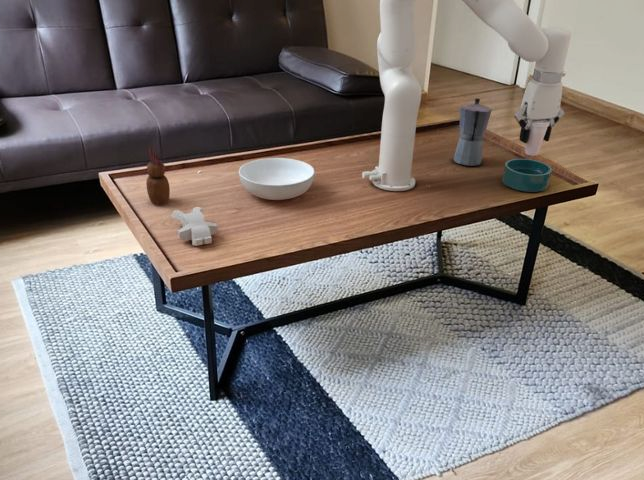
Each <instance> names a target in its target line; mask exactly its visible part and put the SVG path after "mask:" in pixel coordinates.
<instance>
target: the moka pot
mask: <svg viewBox="0 0 644 480" xmlns="http://www.w3.org/2000/svg"><path fill="white" fill-rule="evenodd" d="M480 102H481V99H480V98H474V102H473V103H464V104H462V105H460V106H459V138H458V142H457V146H456V148H455V152H454V155H453V162H454V163H456V164H458V165H462V166H467V167H474V166H479V165H481V164H482V161H483V139H484V134H485V133H486V131H487V128H488V125H489V121H490V117H491V114H492V111H493V110H492V108H491V107H489V106H487V105H485V104H481V103H480Z"/></svg>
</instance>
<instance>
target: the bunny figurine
mask: <svg viewBox="0 0 644 480" xmlns="http://www.w3.org/2000/svg"><path fill="white" fill-rule="evenodd" d="M171 217H172V219H176V220H178V221H180V222H181V226H182V227H181V228H179V229H177V236H178V239H179V240H187V241H188V240H190V241H191V244H192V246H196V247H197V246H203V245H208V244H212V243H213V239H212V236H213V235H215V234H217V233H218V232H219V231H218V224H217V223H215V222H210V221H205V216H204V210H203V209H202V207H200V206H195V207H193V208H192V211H190V212H186V213H185V212H183V211H181V210H179V209H175V210H173V212H172V214H171Z"/></svg>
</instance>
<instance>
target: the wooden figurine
mask: <svg viewBox="0 0 644 480" xmlns="http://www.w3.org/2000/svg"><path fill="white" fill-rule="evenodd" d="M149 159H150V160H149V162H148V163H147V165H146V173H147V175H148V177H147V178H146V191H147V196H148V198H149V200H150V202H151V203H152V204H153V205H157V206H158V205H164V204H166V203H168V201H169V199H170V195H171V193H170V192H171V191H170V190H171V189H170V183H169V180H168V178H167V176H166V175H165V173H166V166H165V164H164V163H163V162H162V161H160V159H159V157H158V155H157V154H156V153H155V149H152V147H151V145H150V146H149Z"/></svg>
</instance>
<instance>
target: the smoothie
mask: <svg viewBox="0 0 644 480" xmlns="http://www.w3.org/2000/svg"><path fill="white" fill-rule="evenodd" d="M527 121H528V120H527ZM526 123H527V122H526ZM549 124H550V121H549V120H547V119H538V120H533V121H532V123H531V125H530V127H529V128H528V129H529V130H530V133H529V138H528V142H527V143H524V154H525V155H527V156H531V157H532V156H538V155H539V152H540V149H541V147H542V144H543V141H544V140H543V139H544V136H545V133H546V130H547V127H548V126H549Z"/></svg>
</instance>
